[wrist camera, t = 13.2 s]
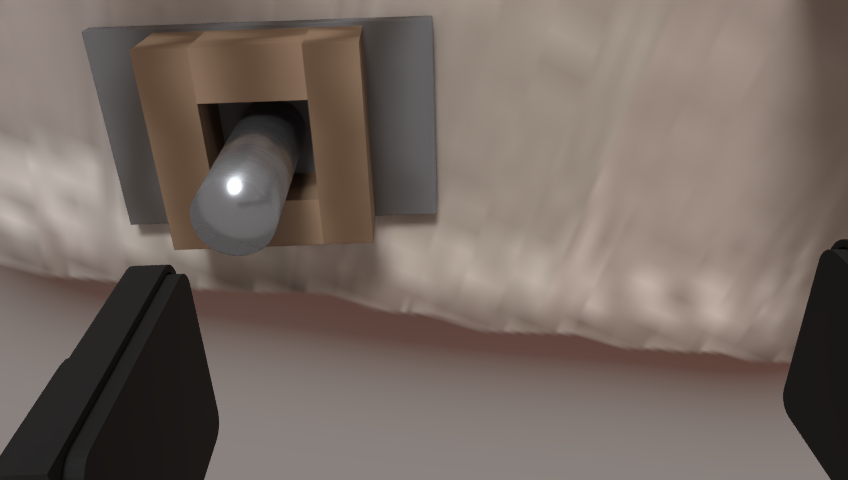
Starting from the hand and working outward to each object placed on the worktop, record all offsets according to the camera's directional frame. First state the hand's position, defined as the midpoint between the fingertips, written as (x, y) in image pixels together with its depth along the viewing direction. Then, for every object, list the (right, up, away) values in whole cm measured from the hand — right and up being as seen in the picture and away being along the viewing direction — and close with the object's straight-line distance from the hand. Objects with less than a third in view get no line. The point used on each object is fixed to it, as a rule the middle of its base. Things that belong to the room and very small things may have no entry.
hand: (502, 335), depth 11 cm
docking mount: (-11, +9, +34) cm, 37 cm away
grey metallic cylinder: (-10, +8, +33) cm, 36 cm away
